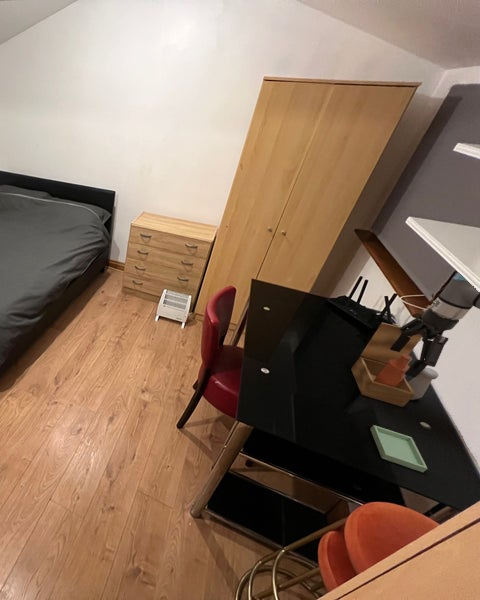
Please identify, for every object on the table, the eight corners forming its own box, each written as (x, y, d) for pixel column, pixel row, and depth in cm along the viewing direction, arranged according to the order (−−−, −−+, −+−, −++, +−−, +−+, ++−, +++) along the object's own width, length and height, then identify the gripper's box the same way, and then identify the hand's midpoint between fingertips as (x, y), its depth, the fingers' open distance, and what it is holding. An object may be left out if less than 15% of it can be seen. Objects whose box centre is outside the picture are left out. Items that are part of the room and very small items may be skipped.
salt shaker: (401, 387, 123) (424, 362, 116) (420, 397, 119) (445, 373, 112) (396, 393, 120) (418, 368, 113) (415, 404, 116) (439, 379, 109)
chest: (402, 407, 115) (415, 394, 111) (361, 394, 118) (372, 382, 115) (388, 379, 126) (398, 367, 122) (350, 368, 130) (360, 356, 126)
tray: (423, 472, 94) (427, 468, 93) (381, 458, 97) (385, 454, 96) (407, 441, 103) (411, 437, 102) (370, 428, 106) (373, 424, 105)
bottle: (391, 398, 117) (421, 365, 107) (371, 392, 118) (400, 359, 109) (385, 387, 121) (414, 354, 112) (366, 381, 123) (393, 348, 114)
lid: (425, 333, 114) (423, 332, 115) (382, 323, 118) (382, 322, 119) (400, 366, 122) (399, 365, 123) (361, 356, 126) (360, 355, 126)
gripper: (413, 291, 111) (377, 338, 123) (449, 332, 92) (402, 383, 104) (439, 297, 109) (400, 344, 121) (482, 340, 90) (431, 391, 101)
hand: (401, 362), depth 112 cm, fingers open, 13 cm apart
